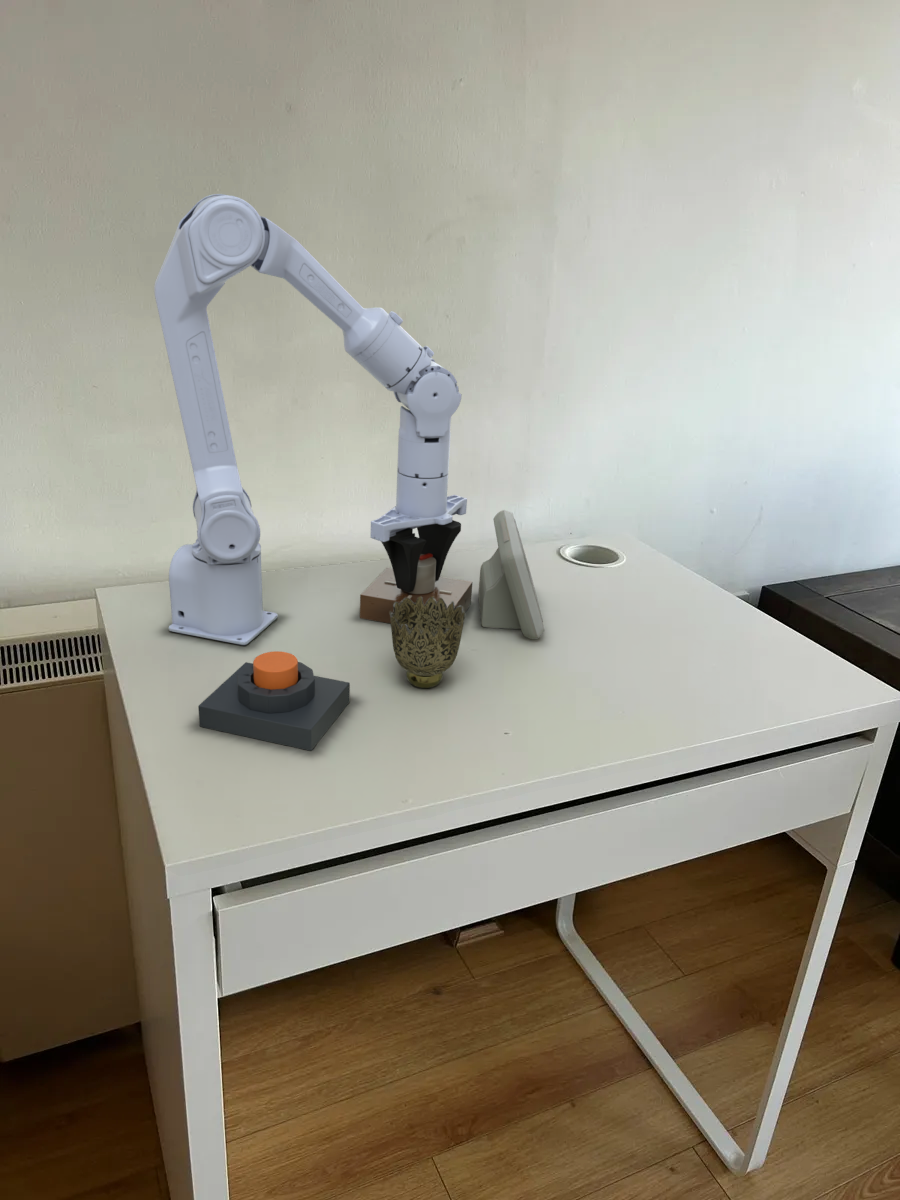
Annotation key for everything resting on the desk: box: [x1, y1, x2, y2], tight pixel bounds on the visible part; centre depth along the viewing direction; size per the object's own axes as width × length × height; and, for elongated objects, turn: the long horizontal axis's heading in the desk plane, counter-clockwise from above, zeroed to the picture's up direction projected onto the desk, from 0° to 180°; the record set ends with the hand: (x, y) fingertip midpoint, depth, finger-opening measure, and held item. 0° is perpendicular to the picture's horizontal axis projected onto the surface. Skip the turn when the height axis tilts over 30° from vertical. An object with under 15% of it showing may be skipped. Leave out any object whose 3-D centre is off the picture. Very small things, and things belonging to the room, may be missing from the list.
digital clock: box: [477, 509, 545, 640], centre depth 106 cm, size 16×9×11 cm, turn 169°
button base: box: [198, 661, 351, 752], centre depth 84 cm, size 11×9×4 cm
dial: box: [405, 553, 436, 594], centre depth 105 cm, size 4×4×4 cm
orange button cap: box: [252, 650, 299, 690], centre depth 82 cm, size 4×4×2 cm
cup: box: [389, 596, 466, 689], centre depth 90 cm, size 8×7×8 cm
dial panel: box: [359, 567, 473, 625], centre depth 106 cm, size 11×9×3 cm
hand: (417, 584), depth 106 cm, fingers closed on dial, 4 cm apart
